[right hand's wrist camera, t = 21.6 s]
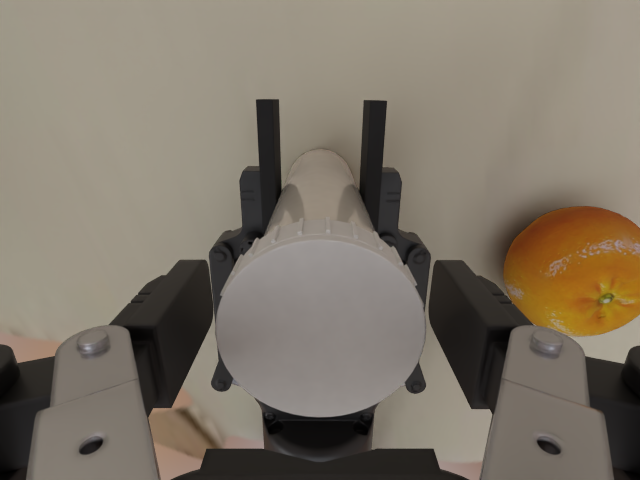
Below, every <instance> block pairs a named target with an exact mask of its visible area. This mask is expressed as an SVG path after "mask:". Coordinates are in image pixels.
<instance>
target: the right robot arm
mask: <svg viewBox="0 0 640 480" xmlns="http://www.w3.org/2000/svg"><path fill="white" fill-rule="evenodd" d="M212 319H213V300H212V292H211V283H210V275H209V267H208V263H207V261H206V260H179V261H178V262H177V263H176V265H175V266H174V267H173V268H172V269H171V270H170V272H169V273H168V274H167V275H161V276H160V277H158V278H156V279H154V280H153V281H151V282H149V283H147V284H146V285H145V286H144V287H143V289H142V290H141V291H140V292H139V293H138V295H136V296H135V297H134V298H133V299H132V300H131V303H129V304H128V305H127V306H126V307H125V308H124V309H123V310H122V311H121V312H120V313H119V314H118V315H117V317H116V318H115V319H114V320H113V321H112V322H111V323H110V324H109V325H105V326H98V327H94V328H90V329H87V330H84V331H82V332H79V333H77V334H75V335H73V336H72V337H70V338H68V339H67V340H66V341H64V342H63V343H62V344H61V345H60V346H59V347H58V349H57V351H56V354H55V356H53V357H48V358H43V359H37V360H32V361H27V362H22V363H17V361H16V358H15V355H14V353H13V350H12V349H11V347H9V346H6V345H1V344H0V480H161V478H160V473H159V468H158V463H157V458H156V453H155V448H154V444H153V439H152V434H151V429H150V424H149V420H148V417H149V415H150V413H151V411H152V409H153V408H171V407H172V405H173V403H174V401H175V399H176V397H177V395H178V393H179V391H180V389H181V387H182V384H183V382H184V380H185V378H186V376H187V374H188V372H189V370H190V368H191V366H192V364H193V362H194V359H195V357H196V355H197V353H198V351H199V349H200V347H201V345H202V343H203V341H204V339H205V336H206V334H207V332H208V330H209V328H210V326H211V323H212ZM429 320H430V324H431V327H432V329H433V331H434V333H435V335H436V337H437V339H438V341H439V343H440V345H441V347H442V349H443V351H444V353H445V355H446V358H447V360H448V362H449V364H450V366H451V368H452V370H453V372H454V374H455V376H456V378H457V380H458V382H459V384H460V386H461V388H462V390H463V392H464V395H465V397H466V399H467V401H468V403H469V405H470V407H471V409H490V410H491V412H492V414H493V415H492V420H491V424H490V429H489V434H488V439H487V444H486V448H485V453H484V458H483V463H482V468H481V473H480V478H479V480H640V346H636V347H633V348H631V349H630V350H629V352H628V355H627V358H626V361H625V363H624V364H622V363H617V362H611V361H606V360H601V359H596V358H591V357H586V356H585V354H584V351H583V349H582V347H581V346H580V345H579V344H578V343H577V342H576V341H574V340H573V339H572V338H570V337H568V336H567V335H565V334H563V333H561V332H558V331H556V330H553V329H550V328H546V327H542V326H535V325H533V324H532V323H531V322H530V321H529V319H528V318H527V317H526V316H525V315H524V314H523V313H522V312H521V311H520V310H519V309H518V308H517V307H516V306H515V305H514V304H512V301H511V300H510V299H509V298H508V297H507V296H504V293H503V292H502V291H501V290H500V289H499V288H498V286H497V285H496V284H494V283H492V282H491V281H489V280H487V279H485V278H483V277H482V276H476V275H475V274H474V273H473V272H472V270H471V269H470V268H469V267H468V266H467V265H466V264H465V262H464V261H462V260H437V261H436V262H435V264H434V268H433V275H432V283H431V292H430V300H429ZM171 480H469V479H467V478H465V477H462V476H460V475H457V474H454V473H451V472H449V471H445V470H442V469H440V468H439V465H438V461H437V458H436V455H435V452H434V449H375V450H371V451H367V452H363V453H358V454H354V455H350V456H346V457H342V458H338V459H334V460H330V461H326V462H314V461H310V460H306V459H302V458H298V457H294V456H290V455H286V454H282V453H277V452H273V451H269V450H265V449H206V452H205V455H204V458H203V461H202V464H201V468H200V469H198V470H195V471H191V472H189V473H186V474H183V475H180V476H178V477H175V478H173V479H171Z"/></svg>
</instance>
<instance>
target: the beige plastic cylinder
mask: <svg viewBox="0 0 640 480" xmlns="http://www.w3.org/2000/svg"><path fill="white" fill-rule="evenodd" d="M325 217H330V220H336V221H341V222H346V223H350V222H351V221H353V222H355V224H356V226H358V227H361V228H363V229H365V230H367V231H369V232H371V233H373V232H374V231H375V229H374V226H373V224H372V222H371V219H370V217H369V214H368V212H367V210H366V207H365V205H364V202H363V200H362V197H361V195H360V193H359V190H358V188H357V185H356V183H355V180H354V178H353V176H352V173H351V171H350V168H349V166H348V164H347V163H346V162H345V160H344V159H343V158H342V157H341V156H339V155H338V154H336V153H335V152H332V151H329V150H325V149H316V150H311V151H308V152H306V153H304V154H303V155H301V156H300V157H299V158H298V159H297V160H296V161H295V162H294V164H293V165H292V167H291V170H290V172H289V175H288V177H287V180H286V182H285V185H284V187H283V190H282V192H281V194H280V197H279V199H278V202H277V204H276V207H275V209H274V212H273V214H272V217H271V219H270V222H269V224H268V227H267V229H266V231H265V234H264V236H266V235H267V234H269V233H270V232H272V231H274V229H275V227H276V226H278V225H279V226H280V228H281V227H283V226H285V225H289V224H292V223H295V222H299V220H300V218H304V221H306V220H319V219H325ZM375 232H376V231H375ZM264 236H263V237H264Z"/></svg>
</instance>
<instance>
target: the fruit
mask: <svg viewBox="0 0 640 480" xmlns="http://www.w3.org/2000/svg"><path fill="white" fill-rule="evenodd" d="M503 278H504V283H505V286H506V290H507V292H508V295H509V297H510V299H511V301H512V303H513V304H514V305H515V306H516V307H517V308H518V309H519V310H520V311H521V312H522V313H523V314H524V315H525V316H526V317H527V318H528V319H529V321H531V322H532V323H533V324H535V325H537V326H542V327H546V328H550V329H553V330H556V331H558V332H561V333H563V334H565V335H567V336H594V335H599V334H603V333H607V332H609V331H612V330H615V329H617V328H619V327H621V326H623V325H625V324H627V323H629V322H630V321H632V320H633V319H634V318H636V317H637V316H638V315H639V314H640V228H639V227H638V226H637V225H636V224H634V223H633V222H632V221H631V220H629V219H627V218H626V217H623V216H622V215H620V214H618V213H615V212H612V211H609V210H606V209H603V208H598V207H590V206H578V207H569V208H562V209H558V210H555V211H551V212H549V213H546V214H544V215H542V216H541V217H539V218H537V219H536V220H535V221H533V222H532V223H531V224H530V225H529V226H528V227H526V228H525V229H524V230H523V231H522V232H521V233H520V234H519V235H518V236H517V237H516V238H515V239H514V240H513V242H512V244H511V246H510V247H509V250H508V252H507V255H506V259H505V263H504V271H503Z"/></svg>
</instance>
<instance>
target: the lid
mask: <svg viewBox="0 0 640 480" xmlns="http://www.w3.org/2000/svg"><path fill="white" fill-rule="evenodd" d="M416 285H417V283H416V281H415V279H414V277H413V275H412V274H411V272H410V270H409V268H408V266H407V264H406V265H403V262H402V260H401V258H400V256H399V254H398V252H397V250H396V248H395V247H394V246H392V247H389V246H388V245H387V244H386V243H385V242H384V241H383V240H382V239H380V238H379V236H378V233H377V232H375V231H374V232H373V233H371V232H369V231H367V230H365V229H363V228H361V227H358V226H356V224H355V222H353V221H351V222H350V223H346V222H341V221H336V220H330V217H325V219H319V220H306V221H304V218H300V220H299V222H295V223H292V224H289V225H285V226H283V227H281V228H280V226H279V225H278V226H276V227H275V229H274V231H272V232H270V233H269V234H267V235H266V236H264V237H262V238H261V239H259V238H256V239H255V240H254V243H253V245H252V247H251V248H250V249H249V250H248V251H247V252H246V253H245V255H244V256H243V255H242V254H241V255H240V256H239V258H238V260H237V262H236V264H235V266H234V268H233V270H232V272H231V274H230V275H229V277H228V279H227V281H226V283H225V285H224V287H223V289H222V291H221V294H220V295H221V296H222V298H221V301H220V304H219V307H218V310H217V314H216V340H217V346H218V349H219V352H220V355H221V358H222V360H223V362H224V364H225V366H226V368H227V370H228V371H229V373H230V374H231V375H232V377H233V378H234V379H235V380H236V382H237V383H238V384H239V385H240V386H241V387H242V388H243V389H244V390H246V391H247V392H248V393H249V394H250V395H252V396H253V397H255V398H256V399H258V400H259V401H261V402H263V403H265V404H267V405H268V406H270V407H273V408H275V409H278V410H280V411H284V412H287V413H291V414H295V415H301V416H308V417H333V416H341V415H346V414H350V413H355V412H358V411H361V410H363V409H366V408H368V407H371V406H373V405H375V404H377V403H379V402H380V401H382V400H384V399H385V398H387V397H388V396H390V395H391V394H392V393H393V392H395V391H396V390H397V389H398V388H399V387H400V386H401V385H402V384H403V383H404V382H405V381H406V380H407V378H408V377H409V376H410V375H411V373H412V372H413V370H414V368H415V367H416V365H417V363H418V361H419V359H420V356H421V354H422V351H423V347H424V343H425V336H426V320H425V313H424V309H423V307H424V304H423V302H422V300H421V298H420V296H419V294H418V292H417V290H416V288H415V286H416Z"/></svg>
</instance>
